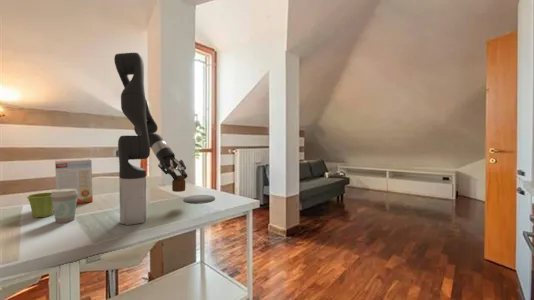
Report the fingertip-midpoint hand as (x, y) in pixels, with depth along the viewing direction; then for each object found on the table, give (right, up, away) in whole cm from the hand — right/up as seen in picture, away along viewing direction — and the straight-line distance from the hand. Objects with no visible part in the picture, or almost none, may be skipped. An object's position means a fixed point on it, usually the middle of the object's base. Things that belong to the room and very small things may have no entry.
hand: (181, 178), depth 124 cm
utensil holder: (-2, -6, +1) cm, 7 cm away
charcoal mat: (+4, -13, +16) cm, 21 cm away
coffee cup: (-38, -14, -21) cm, 46 cm away
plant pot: (-52, -14, -16) cm, 56 cm away
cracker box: (-53, -13, +5) cm, 55 cm away
